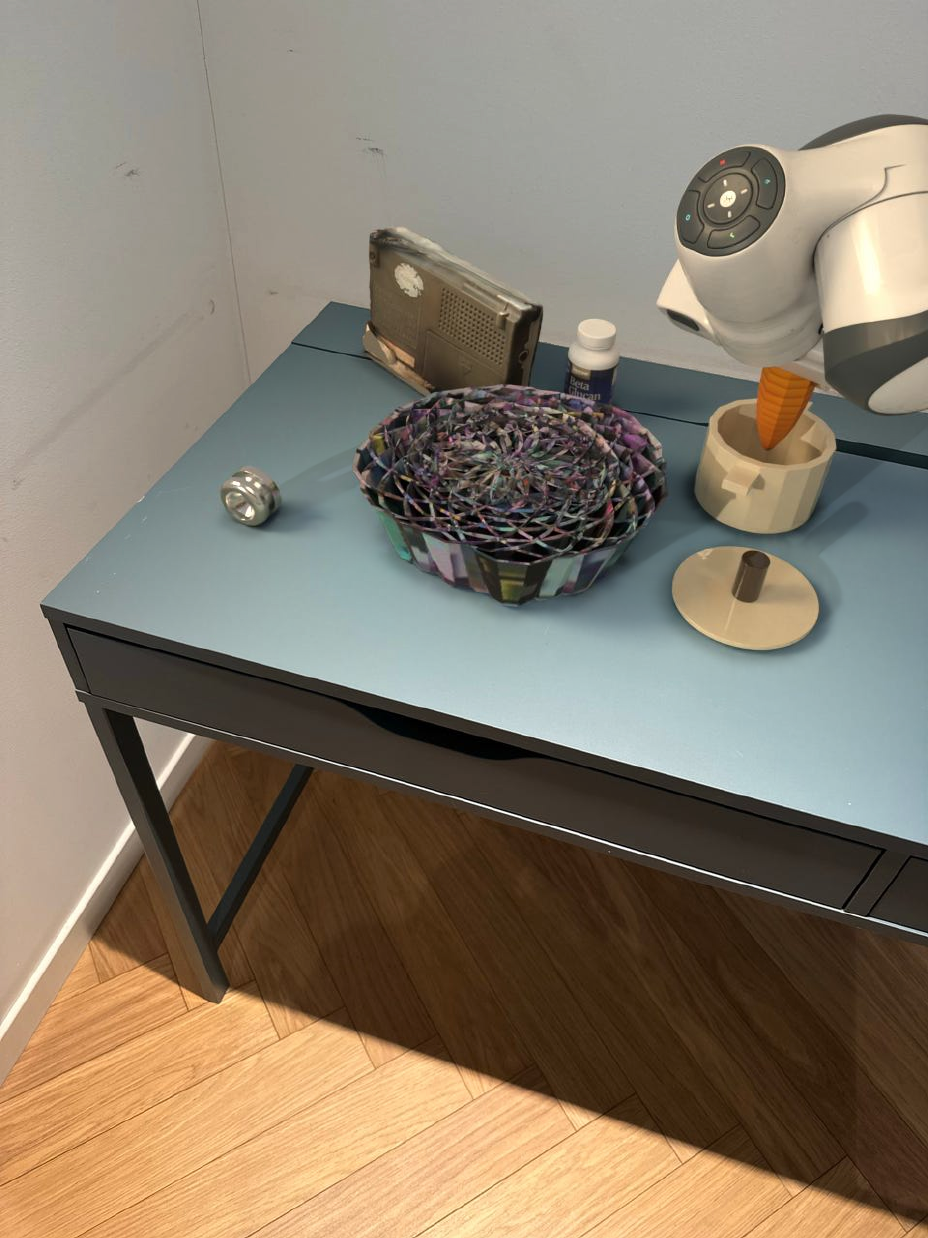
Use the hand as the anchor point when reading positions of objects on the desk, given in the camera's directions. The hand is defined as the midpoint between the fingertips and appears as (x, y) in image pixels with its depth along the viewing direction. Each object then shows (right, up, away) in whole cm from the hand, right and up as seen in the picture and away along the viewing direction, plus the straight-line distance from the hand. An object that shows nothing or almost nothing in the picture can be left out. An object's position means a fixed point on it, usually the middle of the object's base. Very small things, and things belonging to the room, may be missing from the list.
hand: (793, 368), depth 86 cm
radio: (-31, +4, +23) cm, 39 cm away
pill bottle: (-16, +1, +20) cm, 26 cm away
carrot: (-1, -6, +6) cm, 9 cm away
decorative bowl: (-25, -14, +5) cm, 30 cm away
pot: (-1, -10, +10) cm, 14 cm away
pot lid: (-5, -20, -2) cm, 21 cm away
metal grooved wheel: (-49, -13, +6) cm, 52 cm away
